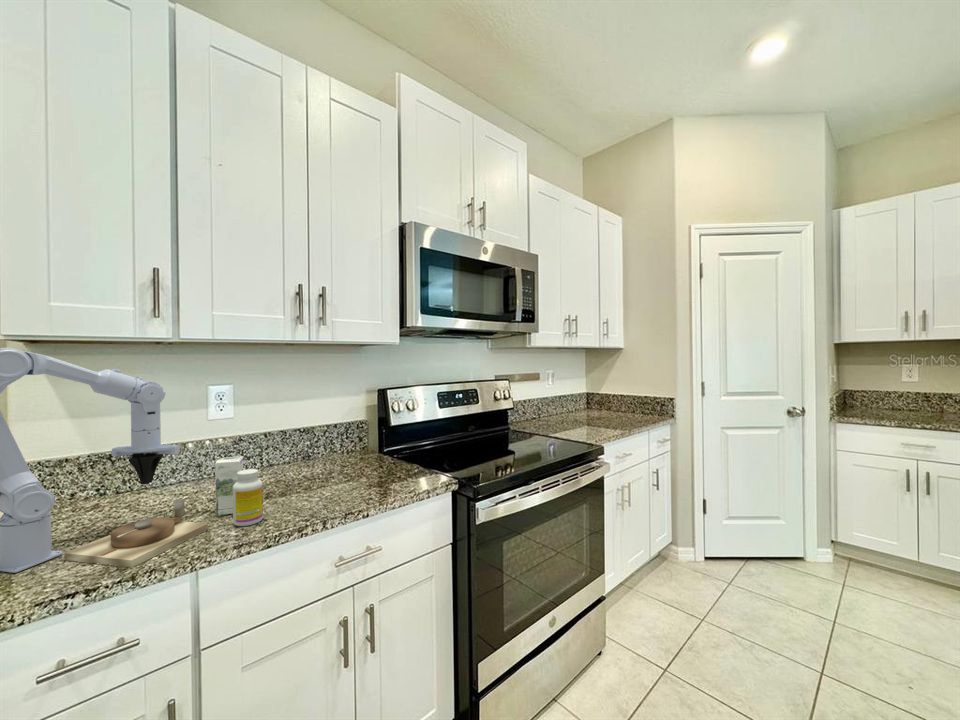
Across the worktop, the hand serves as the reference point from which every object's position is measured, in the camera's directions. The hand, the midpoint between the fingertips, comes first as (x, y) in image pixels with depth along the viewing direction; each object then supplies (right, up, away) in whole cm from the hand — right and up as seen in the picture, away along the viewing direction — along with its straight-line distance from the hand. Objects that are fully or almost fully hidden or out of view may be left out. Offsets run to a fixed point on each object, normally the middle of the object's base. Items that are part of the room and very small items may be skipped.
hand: (146, 483), depth 102 cm
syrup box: (+16, -11, +8) cm, 21 cm away
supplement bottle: (+25, -10, +1) cm, 27 cm away
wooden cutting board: (+8, -10, -11) cm, 17 cm away
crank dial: (+9, -9, -9) cm, 15 cm away
